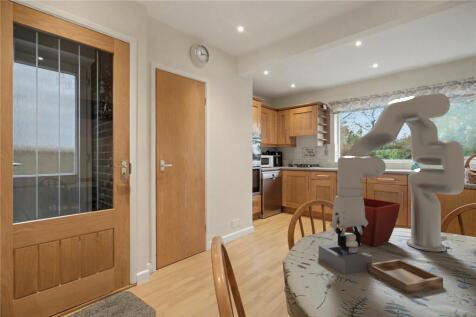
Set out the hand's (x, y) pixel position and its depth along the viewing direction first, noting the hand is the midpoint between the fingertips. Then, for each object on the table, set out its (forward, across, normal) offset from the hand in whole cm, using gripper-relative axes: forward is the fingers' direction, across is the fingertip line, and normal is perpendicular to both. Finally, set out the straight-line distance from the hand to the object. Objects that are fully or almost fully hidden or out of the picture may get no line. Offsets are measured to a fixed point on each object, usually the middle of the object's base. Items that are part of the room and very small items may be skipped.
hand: (349, 245), depth 82 cm
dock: (+6, +2, 0) cm, 6 cm away
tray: (+6, -7, +14) cm, 17 cm away
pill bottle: (+6, 0, 0) cm, 6 cm away
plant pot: (+6, -24, -17) cm, 30 cm away
